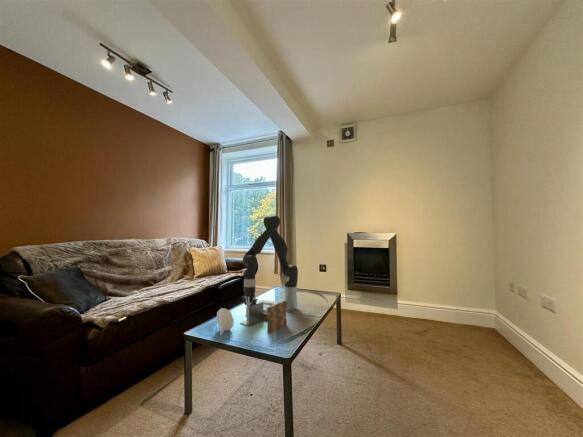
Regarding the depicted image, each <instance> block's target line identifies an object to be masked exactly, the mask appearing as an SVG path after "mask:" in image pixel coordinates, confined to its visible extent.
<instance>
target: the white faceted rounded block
mask: <svg viewBox="0 0 583 437" xmlns="http://www.w3.org/2000/svg"><path fill="white" fill-rule="evenodd" d="M216 321H217V324H218V326H219V327H220V332H219V336H221V335H222V334H223V333H224V332H225V331H231V329H233V328H234V318H233V314H232V312H231V311H230V310H229V309H228V308H224V307H223V308H222V307H221V308H220V309H218V311H217V312H216Z"/></svg>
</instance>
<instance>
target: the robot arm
mask: <svg viewBox="0 0 583 437" xmlns="http://www.w3.org/2000/svg"><path fill="white" fill-rule="evenodd" d="M280 224H281V219H280V217H279V216H278V215H266V216H264V218H263V225H264V228H265V230H264V231H263V232H262V233H261V234H260V235H259V236H258V237H257V238H256V239H255V240H254V242H253V244H252V245H251V247H250V248H249V249H248V250H247V252H246V253H245V254H244V256H243V258H242V264H244V265H246V267H247V268H246V269H245V270H244V273H243V274H244V276H243V277H244V279H243V293H244V294H243V296H241V299H242V301H243V304H244V305H245V306H246V307H247V306H249V305H252V304H254V303H256V302H258V301H259V300H258V298H257V297H256V295H255V294H256V271H257V266H258V259H257V255H260V254H261V252H262V251H263V249H264V247H265V245H266V243H267V242H268V241H269V239H270V241H271V243H272V245H273V247H274V250H275V253H276V256H277V258H278V261H279V264H280V268H281V272H282V275H283V276H284V277H287V278H288V280H287V281H285V282H284V301H286V311H288V312H290V311H291V312H293V311H296V310H297V309H298V294H297V291H298V290H297V289H298V288H297V284H298V280H299V278H298V276H299V270H298V267H297V265H294V264H290V263H289V261H288V258H287V257H288V252H289V250H288V245H287V243H286V241H285V239H284V237H283V236H281V235H280V233H279V232H278V230H277V229H278V228H279V226H280Z"/></svg>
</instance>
